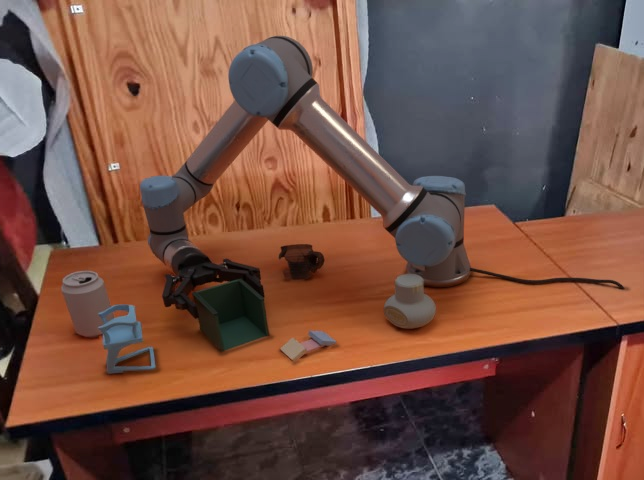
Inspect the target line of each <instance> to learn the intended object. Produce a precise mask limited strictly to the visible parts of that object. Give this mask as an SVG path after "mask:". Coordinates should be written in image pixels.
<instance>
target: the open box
mask: <svg viewBox="0 0 644 480" xmlns="http://www.w3.org/2000/svg"><path fill="white" fill-rule="evenodd" d="M191 295H192V297H193V303H194V304H195V305H196V306H197V311H198V315H199V318H197V320H198V325H199V329H200V331H201V332H202V333H203V334H204V335H205V336H206V337H207V338H208V339H209V340H210V341H211V342H212V343H213V344H214V345H215V347H216V348H218V350H219V351H220V352H221V353H223V352H225V351H228V350H232V349H234V348H237V347H239V346H242V345H246V344H248V343H252V342H254V341H257V340H260V339H263V338H266V337H269V336H270V331H269V325H268V324H269V323H268V317H267V312H266V304H265V298H263V297H262V296H261V295H260V294H258V293H257V292H256V291H255V290H254V289H253V288H251V287H250V286H249V285H248V284H247V283H246V282H244V281H243V280H242V279H237V280H234V281H230V282H227V281H226V282H225V283H224V282H222V283H220V284H216V285H214V286H209V287H207V288H203V289H200V290H196V291H191Z"/></svg>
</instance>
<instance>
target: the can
mask: <svg viewBox="0 0 644 480" xmlns="http://www.w3.org/2000/svg"><path fill="white" fill-rule="evenodd" d="M60 290H61V293H62V296H63V299H64V301H65V304H66V307H67V310H68V313H69V316H70V319H71V322H72V325H73V329H74V331H75V332H76V334H78V335H79V336H83V337H85V338H99V337H100V336H101V335H102V336H103V333H102V332H101V331H100V330H99V329H98V327H100V326H102V325H104V322H103V320H102V319H101V317H100V316H99V315H98V313H100V312H103V311H105V310H106V309H108V308H110V307H112V304H111V300H110V298H109V294H108V290H107V287H106V285H105V281H104V279H103V278H102V277H100V276H99V274H98V273H97V272H95V271H93V270H77V271H74V272H72V273H68V274H67V275H66V276H64V277H63V278H62V285H61V287H60ZM105 318H106V319H107V321H108V322H109V321H110V320H112V319H114V318H116V316H115V315H114V312H112V313H110V314H108V315H107V316H106V317H105Z"/></svg>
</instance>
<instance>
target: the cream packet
mask: <svg viewBox="0 0 644 480" xmlns="http://www.w3.org/2000/svg"><path fill="white" fill-rule="evenodd" d="M300 343H301V342H299V341H298V340H297V339H296V338H295V337H291V338H290V339H289V340H287V342H286V343H284V344H283V345H282V346H281V347H280V348H279V350H280V351H281V352H282V353H283V354H284V355H285V356H287V357H288V359H290V360H291V361H292V362H294V361H297V360H299V359H301V358H302V357H303V356H305V353H306V352H307V349H306V348H305V347H304V346H302V345H301V344H300ZM306 354H307V353H306Z"/></svg>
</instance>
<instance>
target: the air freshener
mask: <svg viewBox="0 0 644 480" xmlns="http://www.w3.org/2000/svg"><path fill="white" fill-rule="evenodd" d="M436 312H437V306H436V303H435V302H434V300H433V299H432V298H431V297H430V296H429V295H427V294H426V293H425V286H424V280H423V278H422V277H421V276H419V275H416V274H407V273H404V274H400V275H398V276H396V278H395V280H394V294H392V295H391V296H389V297H388V299H386V301H385V302H384V305H383V314H384V316H385V318H386V319H387V320H388V321H389V322H390V323H391V324H392V325H393V326H396V327H398V328H401V329H408V330H409V329H410V330H411V329H419V328H422V327H424V326H426V325H428V324H429V323H430V322H431V321H432V320H433V319H434V318H435V316H436V314H437V313H436Z"/></svg>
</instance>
